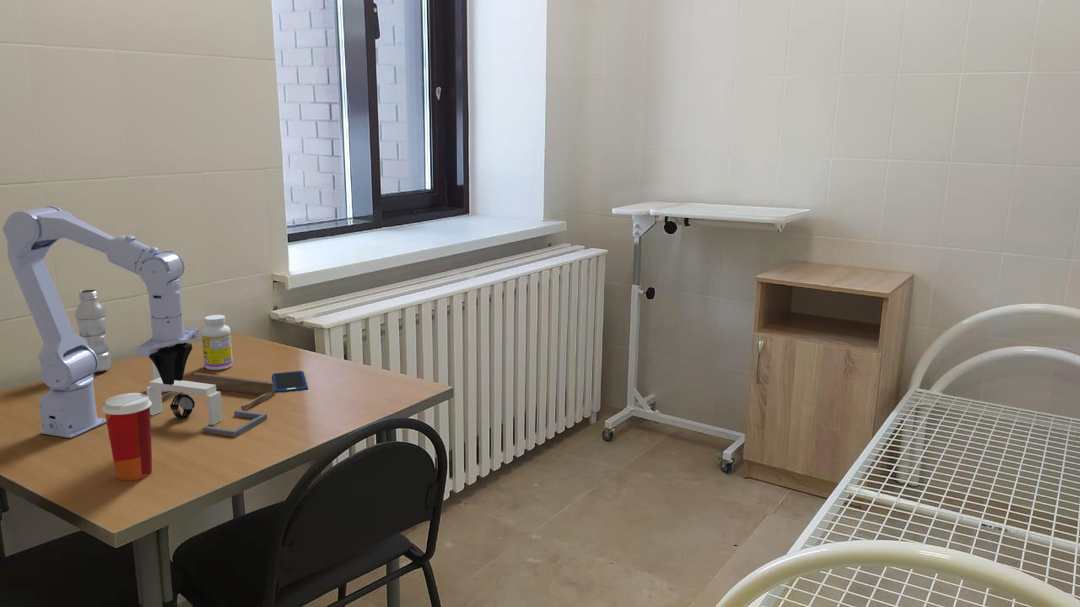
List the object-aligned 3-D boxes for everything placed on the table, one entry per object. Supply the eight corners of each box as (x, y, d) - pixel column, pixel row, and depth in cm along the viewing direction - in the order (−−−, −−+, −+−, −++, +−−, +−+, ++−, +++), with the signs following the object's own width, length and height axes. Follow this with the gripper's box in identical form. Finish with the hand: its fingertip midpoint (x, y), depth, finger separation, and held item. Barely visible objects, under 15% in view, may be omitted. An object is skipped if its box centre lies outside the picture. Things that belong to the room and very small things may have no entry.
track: (212, 428, 165) (211, 414, 165) (128, 415, 171) (127, 402, 171) (274, 395, 185) (273, 382, 184) (197, 384, 191) (196, 372, 190)
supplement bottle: (205, 363, 206) (201, 314, 203) (233, 361, 208) (229, 312, 205) (203, 371, 200) (199, 321, 197) (232, 369, 202) (228, 319, 199)
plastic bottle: (82, 369, 201) (72, 289, 196) (113, 366, 203) (104, 287, 199) (80, 377, 195) (70, 295, 190) (111, 373, 198) (102, 292, 193)
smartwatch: (198, 416, 172) (196, 393, 171) (176, 423, 168) (173, 400, 167) (187, 411, 174) (185, 389, 173) (164, 418, 170) (162, 396, 169)
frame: (235, 437, 161) (234, 432, 161) (203, 432, 163) (203, 427, 163) (267, 418, 171) (266, 414, 171) (237, 414, 173) (236, 409, 173)
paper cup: (145, 461, 150) (138, 388, 147) (166, 473, 145) (159, 398, 142) (101, 475, 144) (92, 400, 141) (121, 488, 139) (112, 410, 136)
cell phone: (275, 394, 186) (274, 391, 186) (272, 376, 199) (271, 373, 199) (308, 391, 189) (308, 388, 189) (303, 373, 202) (303, 370, 201)
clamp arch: (213, 425, 167) (210, 390, 165) (148, 415, 172) (145, 381, 170) (222, 420, 170) (220, 385, 168) (159, 410, 174) (155, 376, 173)
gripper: (156, 326, 150) (163, 396, 153) (209, 308, 164) (214, 373, 167) (125, 322, 152) (132, 391, 155) (180, 305, 166) (185, 369, 169)
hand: (172, 382), depth 161 cm, fingers closed
